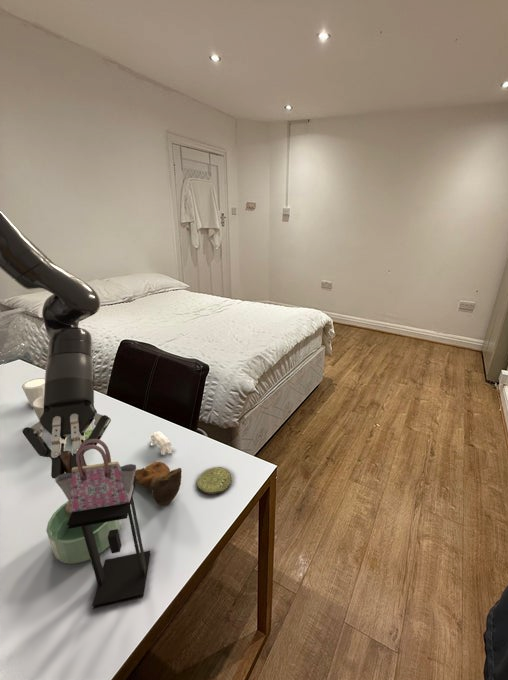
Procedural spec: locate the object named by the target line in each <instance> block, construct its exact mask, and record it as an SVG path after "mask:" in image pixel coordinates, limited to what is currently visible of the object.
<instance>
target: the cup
mask: <svg viewBox="0 0 508 680" xmlns="http://www.w3.org/2000/svg"><path fill="white" fill-rule="evenodd" d="M31 407H32V409H33V411H34V413H35V415H36V417H37V419H38V422H40V417H41V416H42V414H43V412H44V395H43V396H41V397H39V398H37V399H36V400H35V401H34V402H33V403H32V406H31Z"/></svg>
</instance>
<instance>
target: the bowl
mask: <svg viewBox="0 0 508 680" xmlns="http://www.w3.org/2000/svg"><path fill="white" fill-rule="evenodd" d="M68 502H69V500H67V501H66V502H64V503H63V504H62V505H60V507H58V508H57V509H56V510H55V512H53V514H51V517H50V518H49V520H48V522H47V526H46V534H47V537H48V540H49V543H50V545H51V548H52V552H53V554H54V557H55V558H56V559H57V560H58V561H59V562H61V563H64V564H69V565H70V564H78V563H79V564H80V563H83V562H86V561H89V560H91V559H90V556H89V552H88V549H87V545H86V542H85V538H84V535H83V531H82V528H81V527H75V528H69V529H68V527H69V525H67V523H68V521H69V519H68V516H67V512H66V505H67V503H68ZM121 521H122V519H120V520H115V521H109V522H103V523H98V524H92V525H91V526H92V530H93V534H94V538H95V541H96V545H97V549H98V552H99V555H100V554H102V553H103V552H104V551H106V550H107V548H108V547H110V545H109V541H108V534H109V531H110V530H115V529H118V532H119V533H120V531H121V527H122V526H121V525H122V522H121Z"/></svg>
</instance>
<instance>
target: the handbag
mask: <svg viewBox="0 0 508 680" xmlns="http://www.w3.org/2000/svg"><path fill="white" fill-rule="evenodd" d="M88 443H97V445H86V444H88ZM85 445H86V446H85ZM99 445H100V446H101V447H100V446H99ZM85 449H90V450H96V451H97V452H98V453H100V455H101V457H102V461H103V463H95V464H87V462H86V459H85V453H84V454H83V450H85ZM80 460H81V461H80ZM76 463H77V467H73V468H72V473H64V474H61V475H59V476H57V478H56V479H54V482H55V483H56V485H57V486H58V487H59V489H60V490H61V491H62V493H63V494H64V496H65V497H66V499H67V501H69V502H70V512H72V514H71V516H70V519H69V521H68V523H67V525H69V527H68V529H69V528H75V527H81V528H82V531H83V535H84V538H85V542H86V545H87V549H88V552H89V556H90V559H89V560H90V563H91V565H92V570H93V573H94V576H95V580H96V583H97V587H96V590H95V594H94V597H93V600H92V604H91V607H92V609H93V610H94V609H99V608H102V607H106V606H111V605H115V604H119V603H124V602H128V601H131V600H136V599H140V598H144V595H145V589H146V583H147V576H148V572H149V565H150V559H151V551H150V550H147V551H144V546H143V542H142V536H141V530H140V526H139V519H138V516H137V511H136V505H135V500H134V499H135V498H134V492H135V489H136V485H137V483H136V481H137V479H136V476H135V471H136V470H137V465H136V464H133V463H129V464H125V465H122V466H121V464H120V463H119V461H112V459H111V452H110V449H109V447H108V446H107V444H106V443H105V442H104V441H103V440H101V439H100V440H99V439H90V440H87V439H86V440H85V441H84V442H83V443H82V444H81V445H80V448H79V450H78V451H77V453H76ZM81 463H82V465H81ZM120 519H121V520H125V519H128V521H129V525H130V530H131V534H132V539H133V544H134V549H135V553H132V554H127V555H122V556H117V557H113V558H107V559H104V563H102V560H101V556H100V554H99V552H98V549H97V545H96V541H95V538H94V534H93V530H92V526H91V525H92V524H98V523H103V522H109V521H115V520H120ZM108 541H109V550H110V553H111V554H117V553H120V552H121V550H122V549H121V548H122V541H121V537H120V531H119V532H118V529H115V530H110V531H109V534H108Z"/></svg>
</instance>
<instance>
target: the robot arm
mask: <svg viewBox="0 0 508 680" xmlns="http://www.w3.org/2000/svg"><path fill="white" fill-rule="evenodd" d="M0 270H1V271H3V272H4V273H5V274H6V275H7V276H8V277H10V278H11V279H12V280H14V282H15V283H17V284H18V285H19V286H21V287H22V288H24V289H25V290H30V291H33V290H39V289H41V290H45V291H47V292H49V293H51V295H50V296H48V297H47V298H46V300H45V301H44V302H43V305H42V310H41V314H42V320H43V324H44V328H45V332H46V335H47V337H48V349H47V350H48V351H47V353H48V354H47V363H46V367H45V373H44V374H45V375H44V378H45V390H44V412H43V414H42V416H41V417H40V421H38V422H37V423H35V424H33V425H32V426H30V427H29V426H27V427H24V428H23V429H22V431H21V432H22V434H23V436H24V438H25V439H26V440H27V441H28V443H29V444H30V445H31V447H32V448H33V450H34V451H35V452H36V454H37V455H38V456H39V457H43V458H49V459H51V470H50V471H51V473H50V476H51V478H52V479H53V480H55V479H56V478H57V476H59V475H61V474H64V473H65V470H64V467H63V463H62V460H61V454H62V453H63V452H64V451H66V445H67V440H68V439H67V438H68V437H70V439H71V442H72V443H71V444H72V455H71V473H72V468H73V467H77V463H76V453H77V451H78V450H79V448H80V445H81V444H82V443H83V442H84V441H87V440H90V439H99V440H101V438H102V437H103V435H104V434H105V432H106V430H107V428H108V427H109V425H110V424H111V421H112V420H111V419H112V418H111V417H109V416H108V415H105V414H100V413H98V411H97V410H96V408H95V390H94V389H95V370H94V369H95V368H94V361H93V338H92V334H91V333H90V332H89V331H88V330H87V329H85V328H82V327H79V325H80V322H82V321H84V320H86V319H87V318H90V317H92V316H94V315H95V314H97V313H98V312H99V310H100V308H101V300H100V297H99V295H98V293H97V292H96V290H95V289H94V288H93V287H92V286H91V285H90V284H88V283H87V282H86V281H84V280H82V279H81V278H79V277H78V276H76V275H74V274H72V273H71V272H70V271H68V270H67V269H64V268H63V267H61V266H59V265H57V264H56V263H54V262H53V261H52V260H51V258H49V257H48V256H47V254H45V253H44V252H43V251H42V250H41V249H40V248H39V247H38V246H37V245H35V243H33V241H31V240H30V239H29V237H27V236H26V235H25V234H24V233H23V232H22V231H21V230H20V229H19V228H18V227H17V226H16V225H15V224H14V223H13V222H12V221H11V220H10V219H9V218H8V217H7V216H6V215H5V214H4V212H2V211H1V210H0ZM92 423H93V425H94V428H92V430H93V431H92V433H91V434H90V436H89V438H88V439H86V440H85V431H86V429H87V428H88V427H89V425H90V424H91V425H92ZM43 429H45V430H46V431H47V432H48V433H49V434H50V435H51V439H50V443H51V448H50V447H49V445H48V444H47V443H46V441H45V440H44V438H43V437H42V436H43V435H44V431H43ZM86 445H96V446H98V443H88V444H86ZM86 445H85V446H86ZM90 450H91V449H85V450H83V454H84V455H85V454H86V453H87V452H88V451H90ZM80 461H81V460H80ZM81 465H82V463H81Z"/></svg>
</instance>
